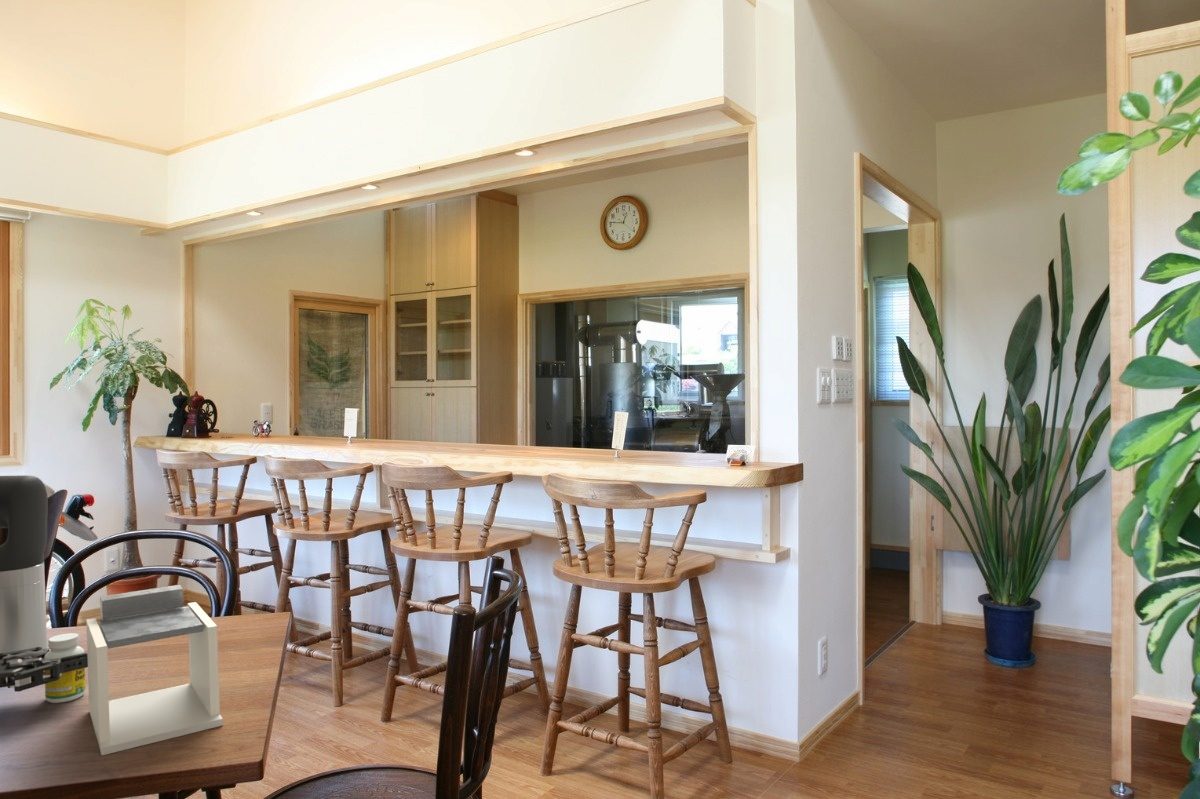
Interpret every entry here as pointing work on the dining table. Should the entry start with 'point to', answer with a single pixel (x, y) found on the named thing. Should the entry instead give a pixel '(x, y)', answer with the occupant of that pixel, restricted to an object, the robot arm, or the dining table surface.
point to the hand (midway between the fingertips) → (82, 655)
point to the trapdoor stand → (155, 695)
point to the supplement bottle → (69, 682)
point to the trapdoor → (146, 616)
